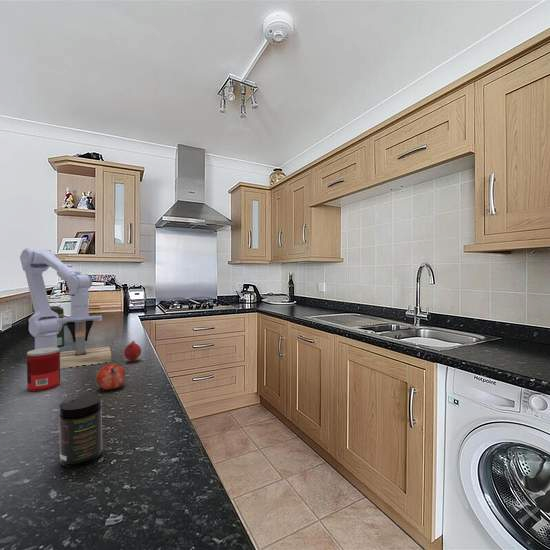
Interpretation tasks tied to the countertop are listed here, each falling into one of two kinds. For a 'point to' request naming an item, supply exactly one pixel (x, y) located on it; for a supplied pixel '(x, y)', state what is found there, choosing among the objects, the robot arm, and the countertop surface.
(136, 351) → the onion
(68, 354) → the beige wooden board
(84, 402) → the supplement container
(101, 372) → the pomegranate
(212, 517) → the countertop surface
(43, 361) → the canned food
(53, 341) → the robot arm
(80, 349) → the orange brown rectangular block
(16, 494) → the countertop surface
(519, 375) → the countertop surface
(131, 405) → the countertop surface
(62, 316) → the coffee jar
